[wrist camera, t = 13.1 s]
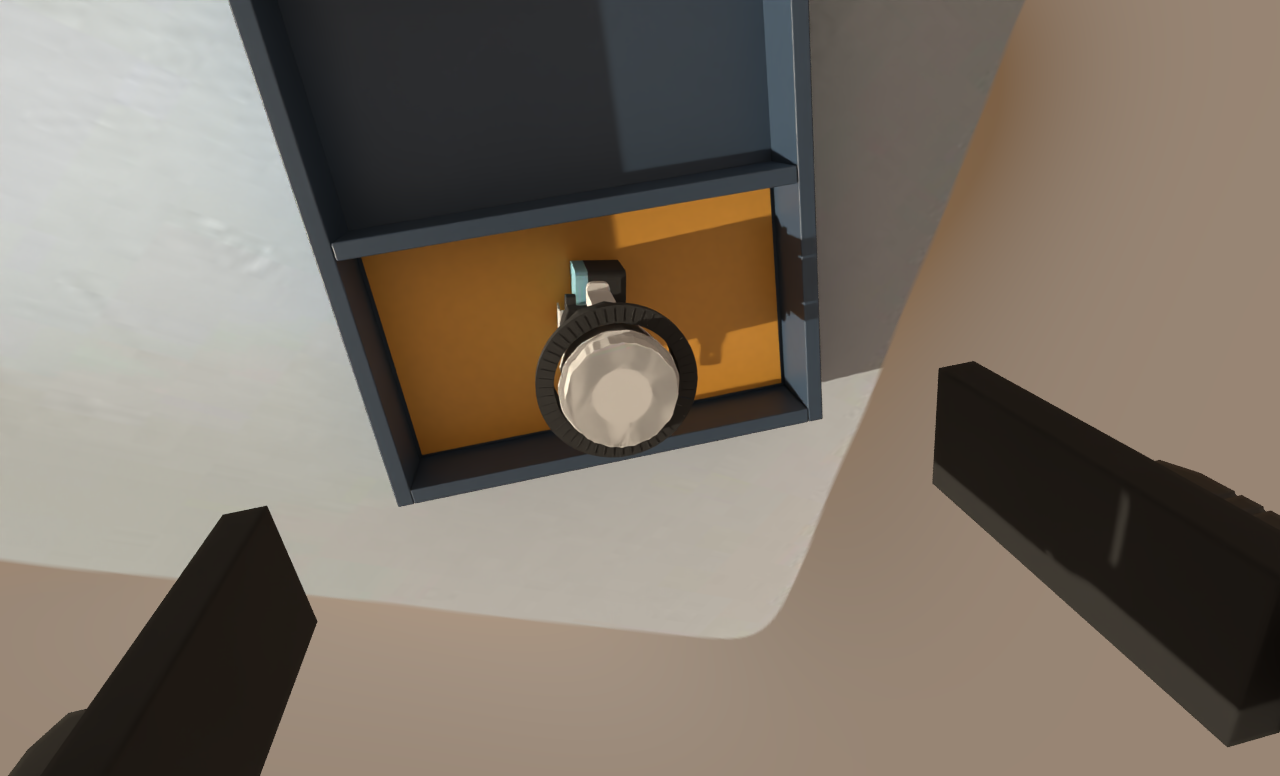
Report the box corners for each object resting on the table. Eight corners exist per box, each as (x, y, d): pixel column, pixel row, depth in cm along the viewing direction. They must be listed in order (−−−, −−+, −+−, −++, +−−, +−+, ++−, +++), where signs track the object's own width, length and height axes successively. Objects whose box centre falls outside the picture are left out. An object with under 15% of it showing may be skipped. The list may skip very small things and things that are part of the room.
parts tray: (410, 467, 32) (398, 507, 29) (237, -75, 23) (191, -106, 20) (793, 389, 34) (823, 419, 31) (766, -137, 25) (803, -175, 22)
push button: (646, 390, 32) (698, 500, 23) (533, 395, 31) (541, 512, 22) (649, 250, 29) (710, 311, 20) (527, 251, 28) (532, 316, 19)
